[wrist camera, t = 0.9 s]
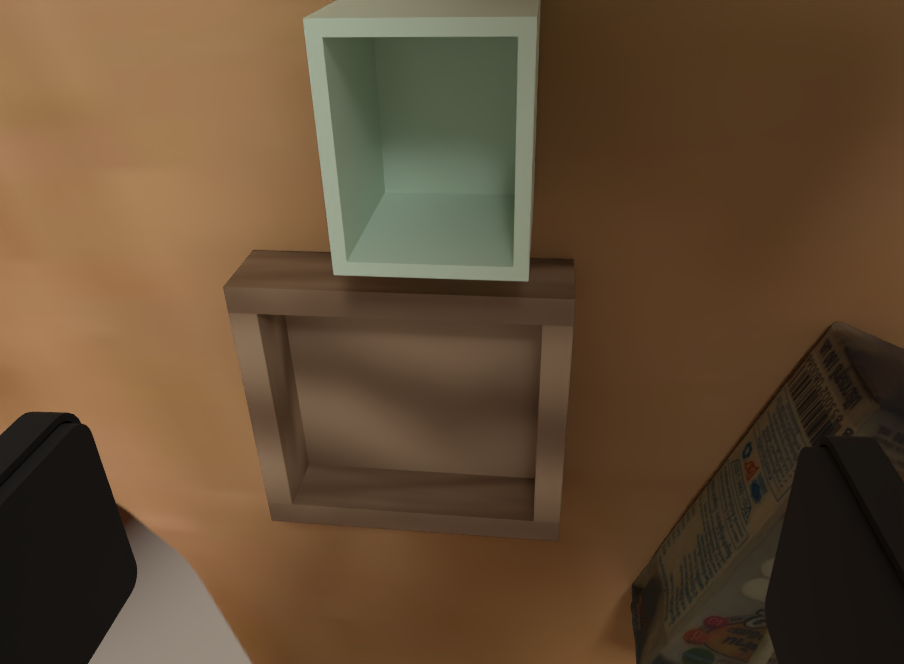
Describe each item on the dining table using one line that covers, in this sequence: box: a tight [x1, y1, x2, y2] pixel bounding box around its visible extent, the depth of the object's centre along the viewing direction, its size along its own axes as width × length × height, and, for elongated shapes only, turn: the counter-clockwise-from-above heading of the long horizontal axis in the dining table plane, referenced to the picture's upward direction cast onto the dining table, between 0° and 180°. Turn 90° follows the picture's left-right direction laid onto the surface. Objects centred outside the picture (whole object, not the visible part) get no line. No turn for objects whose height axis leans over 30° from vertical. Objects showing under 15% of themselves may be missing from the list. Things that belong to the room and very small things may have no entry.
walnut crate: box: [223, 250, 575, 541], centre depth 34 cm, size 13×14×4 cm
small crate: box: [303, 0, 541, 282], centre depth 25 cm, size 8×6×7 cm
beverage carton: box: [631, 322, 904, 664], centre depth 34 cm, size 8×19×7 cm, turn 160°
